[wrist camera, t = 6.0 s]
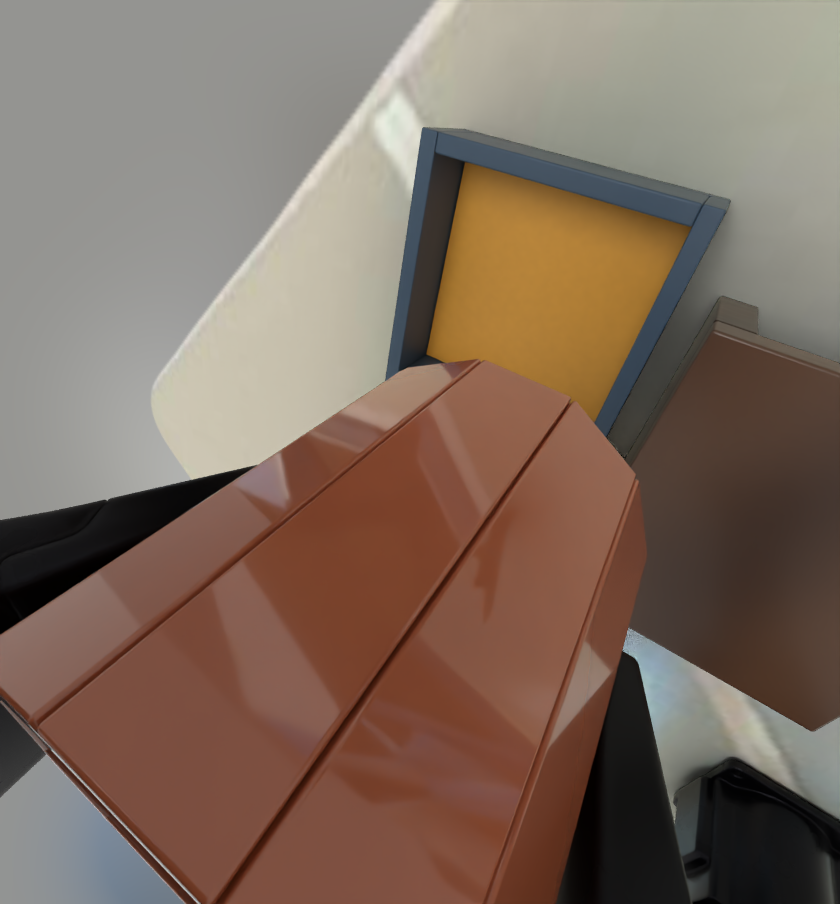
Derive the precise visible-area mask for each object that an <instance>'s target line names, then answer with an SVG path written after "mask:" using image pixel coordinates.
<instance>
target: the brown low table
mask: <svg viewBox="0 0 840 904" xmlns="http://www.w3.org/2000/svg"><path fill="white" fill-rule="evenodd" d="M625 461H626V463H627V464H628V465H629V466H630V467H631V469H632V470H633V471H634V472H635V474H636V478H635V479H638V481H639V485H640V494H641V504H642V513H643V522H644V531H645V541H646V550H647V558H646V562H645V566H644V570H643V573H642V577H641V581H640V585H639V589H638V592H637V596H636V600H635V604H634V608H633V611H632V615H631V619H630V623H629V628H631V629H632V630H634V631H636V632H638V633H639V634H641V635H643V636H645V637H646V638H648V639H650V640H652V641H653V642H655V643H657V644H659V645H660V646H662V647H664V648H666V649H667V650H669V651H671V652H673V653H675V654H676V655H678V656H680V657H682V658H683V659H685V660H687V661H689V662H690V663H692V664H694V665H696V666H697V667H699V668H701V669H703V670H704V671H706V672H708V673H710V674H711V675H713V676H715V677H717V678H718V679H720V680H722V681H724V682H725V683H727V684H729V685H731V686H733V687H734V688H736V689H738V690H740V691H741V692H743V693H745V694H747V695H748V696H750V697H752V698H754V699H755V700H757V701H759V702H761V703H762V704H764V705H766V706H768V707H769V708H771V709H773V710H775V711H776V712H778V713H780V714H782V715H784V716H785V717H787V718H789V719H791V720H792V721H794V722H796V723H798V724H799V725H801V726H803V727H805V728H806V729H808V730H810V731H816V730H818V729H819V728H821V727H823V726H824V725H826V724H828V723H830V722H831V721H833V720H835V719H837V718H838V717H840V363H838V362H835V361H832V360H829V359H826V358H823V357H820V356H817V355H814V354H812V353H809V352H806V351H803V350H800V349H797V348H794V347H791V346H788V345H785V344H783V343H780V342H777V341H774V340H771V339H768V338H765V337H762V336H759V335H758V308H757V307H755V306H752V305H749V304H746V303H743V302H740V301H737V300H733V299H730V298H727V297H724V296H721V297H720V298H719V299H718V301H717V303H716V304H715V306H714V308H713V310H712V311H711V313H710V315H709V316H708V318H707V320H706V322H705V323H704V325H703V327H702V328H701V330H700V332H699V333H698V335H697V337H696V339H695V340H694V342H693V344H692V345H691V347H690V349H689V351H688V352H687V354H686V356H685V357H684V359H683V361H682V363H681V364H680V366H679V368H678V369H677V371H676V373H675V374H674V376H673V378H672V380H671V381H670V383H669V385H668V386H667V388H666V390H665V392H664V393H663V395H662V397H661V398H660V400H659V402H658V404H657V405H656V407H655V409H654V410H653V412H652V414H651V416H650V417H649V419H648V421H647V422H646V424H645V426H644V427H643V429H642V431H641V433H640V434H639V436H638V438H637V439H636V441H635V443H634V445H633V446H632V448H631V450H630V451H629V453H628V455H627V457H626V458H625Z"/></svg>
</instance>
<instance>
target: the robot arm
mask: <svg viewBox="0 0 840 904" xmlns="http://www.w3.org/2000/svg"><path fill="white" fill-rule="evenodd" d="M256 466H257V465H255V466H250V467H246V468H242V469H237V470H233V471H228V472H224V473H220V474H215V475H211V476H207V477H202V478H198V479H193V480H189V481H185V482H180V483H176V484H172V485H167V486H163V487H158V488H154V489H150V490H145V491H141V492H137V493H132V494H128V495H124V496H119V497H115V498H111V499H109V500H108V501H107V500H101V501H97V502H93V503H88V504H84V505H79V506H74V507H69V508H65V509H60V510H55V511H50V512H45V513H39V514H33V515H28V516H22V517H16V518H10V519H4V520H0V634H2V633H3V632H5V631H6V630H8V629H9V628H11V627H12V626H14V625H15V624H17V623H18V622H20V621H21V620H23V619H24V618H26V617H28V616H29V615H31V614H32V613H34V612H35V611H37V610H38V609H40V608H41V607H43V606H44V605H46V604H47V603H49V602H50V601H52V600H53V599H55V598H56V597H58V596H59V595H61V594H62V593H64V592H66V591H67V590H69V589H70V588H72V587H73V586H75V585H76V584H78V583H79V582H81V581H82V580H84V579H85V578H87V577H88V576H90V575H91V574H93V573H94V572H96V571H97V570H99V569H100V568H102V567H104V566H105V565H107V564H108V563H110V562H111V561H113V560H114V559H116V558H117V557H119V556H120V555H122V554H123V553H125V552H126V551H128V550H129V549H131V548H132V547H134V546H135V545H137V544H138V543H140V542H142V541H143V540H145V539H146V538H148V537H149V536H151V535H152V534H154V533H155V532H157V531H158V530H160V529H161V528H163V527H164V526H166V525H167V524H169V523H170V522H172V521H173V520H175V519H177V518H178V517H180V516H181V515H183V514H184V513H186V512H187V511H189V510H190V509H192V508H193V507H195V506H196V505H198V504H199V503H201V502H202V501H204V500H205V499H207V498H208V497H210V496H211V495H213V494H215V493H216V492H218V491H219V490H221V489H222V488H224V487H225V486H227V485H228V484H230V483H231V482H233V481H234V480H236V479H237V478H239V477H240V476H242V475H243V474H245V473H246V472H248V471H249V470H251V469H253V468H254V467H256ZM45 755H46V754H45V753H44V752H43V751H42V750H41V748H40V747H39V746H38V745H37V744H36V743H35V742H34V741H33V740H32V739H31V738H30V737H29V735H28V734H27V733H26V732H25V731H24V730H23V729H22V728H21V727H20V725H19V724H18V723H17V722H16V721H15V720H14V719H13V718H12V717H11V715H10V714H9V713H8V712H7V711H6V710H5V709H4V708H3V707H2V705H1V704H0V797H1V796H2V795H3V794H4V793H5V792H6V791H8V789H10V788H11V787H12V786H13V785H14V784H15V783H16V782H17V781H18V780H19V779H20V778H21V777H22V776H24V775H25V774H26V773H27V772H28V771H29V770H30V769H31V768H32V767H33V766H34V765H35V764H36V763H37V762H38V761H40V760H41V759H42V758H43V757H44V756H45ZM673 803H674V805H675V806H676V807H677V811H676V819H675V825H674V820H673V816H672V811H671V807H670V802H669V798H668V794H667V789H666V785H665V780H664V776H663V771H662V767H661V762H660V758H659V754H658V749H657V745H656V740H655V736H654V731H653V727H652V722H651V718H650V713H649V709H648V705H647V700H646V696H645V691H644V687H643V682H642V678H641V673H640V669H639V665H638V662H637V661H636V659H635V658H633V657H632V656H630V655H628V654H627V653H625V652H623V651H622V653H621V657H620V661H619V665H618V668H617V672H616V676H615V680H614V684H613V687H612V691H611V695H610V699H609V703H608V706H607V710H606V714H605V718H604V722H603V725H602V729H601V733H600V737H599V741H598V744H597V748H596V752H595V756H594V760H593V764H592V767H591V771H590V775H589V779H588V783H587V786H586V790H585V794H584V798H583V802H582V805H581V809H580V813H579V817H578V821H577V824H576V828H575V832H574V836H573V840H572V843H571V847H570V851H569V855H568V859H567V862H566V866H565V870H564V874H563V878H562V881H561V885H560V889H559V893H558V897H557V900H556V904H840V823H839V822H838V821H836V820H834V819H833V818H831V817H829V816H828V815H826V814H824V813H823V812H821V811H820V810H818V809H816V808H815V807H813V806H811V805H810V804H808V803H807V802H805V801H803V800H802V799H800V798H798V797H797V796H795V795H793V794H792V793H790V792H789V791H787V790H785V789H784V788H782V787H780V786H779V785H777V784H776V783H774V782H772V781H771V780H769V779H767V778H766V777H764V776H762V775H761V774H759V773H758V772H756V771H754V770H753V769H751V768H749V767H748V766H746V765H745V764H743V763H741V762H739V761H735V760H729V761H727V762H725V763H723V764H722V765H720V766H718V767H717V768H715V769H714V770H712V771H710V772H709V773H707V774H706V775H704V776H701V777H699V778H697V779H696V780H694V781H692V782H691V783H689V784H688V785H686V786H684V787H683V788H681V789H680V790H679V791H678V792H677V793H675V794H674V799H673Z"/></svg>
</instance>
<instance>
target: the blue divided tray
mask: <svg viewBox="0 0 840 904" xmlns="http://www.w3.org/2000/svg"><path fill="white" fill-rule="evenodd" d="M730 202H731V200H730V199H726V198H722V197H719V196H715V195H711V194H707V193H703V192H700V191H696V190H692V189H688V188H685V187H681V186H677V185H673V184H670V183H666V182H662V181H658V180H654V179H651V178H647V177H643V176H639V175H636V174H632V173H628V172H624V171H621V170H617V169H613V168H609V167H605V166H602V165H598V164H594V163H590V162H587V161H583V160H579V159H575V158H572V157H568V156H564V155H560V154H557V153H553V152H549V151H545V150H541V149H538V148H534V147H530V146H526V145H523V144H519V143H515V142H511V141H508V140H504V139H500V138H496V137H492V136H489V135H485V134H481V133H477V132H474V131H470V130H466V129H453V128H428V127H423V128H422V133H421V140H420V147H419V153H418V160H417V167H416V174H415V181H414V188H413V194H412V201H411V208H410V215H409V222H408V228H407V235H406V242H405V249H404V256H403V263H402V269H401V276H400V283H399V290H398V297H397V303H396V310H395V317H394V324H393V331H392V338H391V344H390V351H389V358H388V365H387V372H386V379H385V381H386V380H388V379H389V378H391V377H392V376H394V375H395V374H397V373H398V372H400V371H402V370H405V369H406V368H409V367H417V366H425V365H433V364H441V363H449V362H457V361H466V360H474V359H480V360H481V362H482V361H484V360H487V361H489V362H491V363H494V364H496V365H498V366H501V367H503V368H505V369H508V370H510V371H512V372H514V373H517V374H519V375H521V376H524V377H526V378H528V379H531V380H533V381H535V382H538V383H540V384H542V385H545V386H547V387H549V388H551V389H554V390H556V391H558V392H561V393H563V394H565V395H568V396H570V397H571V401H570V403H571V402H573V401H576V402H577V403H578V404H579V405H580V406H581V408H582V409H583V410H584V411H585V412H586V414H587V415H588V416H589V417H590V419H591V420H592V421H593V422H594V423H595V425H596V426H597V427H598V428H599V430H600V431H601V432H602V433H603V434H604V436H605V437H607V435H608V433H609V431H610V430H611V428H612V426H613V424H614V422H615V420H616V418H617V416H618V415H619V413H620V411H621V409H622V407H623V405H624V403H625V401H626V399H627V398H628V396H629V394H630V392H631V390H632V388H633V386H634V384H635V383H636V381H637V379H638V377H639V375H640V373H641V371H642V369H643V368H644V366H645V364H646V362H647V360H648V358H649V356H650V354H651V353H652V351H653V349H654V347H655V345H656V343H657V341H658V339H659V337H660V336H661V334H662V332H663V330H664V328H665V326H666V324H667V322H668V321H669V319H670V317H671V315H672V313H673V311H674V309H675V307H676V306H677V304H678V302H679V300H680V298H681V296H682V294H683V292H684V291H685V289H686V287H687V285H688V283H689V281H690V279H691V277H692V275H693V274H694V272H695V270H696V268H697V266H698V264H699V262H700V260H701V259H702V257H703V255H704V253H705V251H706V249H707V247H708V245H709V244H710V242H711V240H712V238H713V236H714V234H715V232H716V230H717V229H718V227H719V225H720V223H721V221H722V219H723V217H724V215H725V213H726V211H727V209H728V207H729V205H730ZM570 403H569V404H570Z"/></svg>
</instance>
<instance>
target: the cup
mask: <svg viewBox="0 0 840 904" xmlns="http://www.w3.org/2000/svg"><path fill="white" fill-rule="evenodd" d="M570 401H571V397H570V396H568V395H565V394H563V393H561V392H558V391H556V390H554V389H551V388H549V387H547V386H545V385H542V384H540V383H538V382H535V381H533V380H531V379H528V378H526V377H524V376H521V375H519V374H517V373H514V372H512V371H510V370H508V369H505V368H503V367H501V366H498V365H496V364H494V363H491V362H489V361H487V360H484V361H482V362H481V360H480V359H474V360H466V361H457V362H449V363H441V364H433V365H425V366H417V367H409V368H406V369H405V370H402V371H400V372H398V373H397V374H395V375H394V376H392V377H391V378H389V379H388V380H386V381H385V382H383V383H382V384H380V385H379V386H377V387H376V388H374V389H373V390H371V391H370V392H368V393H367V394H365V395H364V396H362V397H360V398H359V399H357V400H356V401H354V402H353V403H351V404H350V405H348V406H347V407H345V408H344V409H342V410H341V411H339V412H338V413H336V414H335V415H333V416H332V417H330V418H329V419H327V420H326V421H324V422H322V423H321V424H319V425H318V426H316V427H315V428H313V429H312V430H310V431H309V432H307V433H306V434H304V435H303V436H301V437H300V438H298V439H297V440H295V441H294V442H292V443H291V444H289V445H287V446H286V447H284V448H283V449H281V450H280V451H278V452H277V453H275V454H274V455H272V456H271V457H269V458H268V459H266V460H265V461H263V462H262V463H260V464H259V465H257V466H256V467H254V468H253V469H251V470H249V471H248V472H246V473H245V474H243V475H242V476H240V477H239V478H237V479H236V480H234V481H233V482H231V483H230V484H228V485H227V486H225V487H224V488H222V489H221V490H219V491H218V492H216V493H215V494H213V495H211V496H210V497H208V498H207V499H205V500H204V501H202V502H201V503H199V504H198V505H196V506H195V507H193V508H192V509H190V510H189V511H187V512H186V513H184V514H183V515H181V516H180V517H178V518H177V519H175V520H173V521H172V522H170V523H169V524H167V525H166V526H164V527H163V528H161V529H160V530H158V531H157V532H155V533H154V534H152V535H151V536H149V537H148V538H146V539H145V540H143V541H142V542H140V543H138V544H137V545H135V546H134V547H132V548H131V549H129V550H128V551H126V552H125V553H123V554H122V555H120V556H119V557H117V558H116V559H114V560H113V561H111V562H110V563H108V564H107V565H105V566H104V567H102V568H100V569H99V570H97V571H96V572H94V573H93V574H91V575H90V576H88V577H87V578H85V579H84V580H82V581H81V582H79V583H78V584H76V585H75V586H73V587H72V588H70V589H69V590H67V591H66V592H64V593H62V594H61V595H59V596H58V597H56V598H55V599H53V600H52V601H50V602H49V603H47V604H46V605H44V606H43V607H41V608H40V609H38V610H37V611H35V612H34V613H32V614H31V615H29V616H28V617H26V618H24V619H23V620H21V621H20V622H18V623H17V624H15V625H14V626H12V627H11V628H9V629H8V630H6V631H5V632H3V633H2V634H0V704H1V705H2V707H3V708H4V709H5V710H6V711H7V712H8V713H9V714H10V715H11V717H12V718H13V719H14V720H15V721H16V722H17V723H18V724H19V725H20V727H21V728H22V729H23V730H24V731H25V732H26V733H27V734H28V735H29V737H30V738H31V739H32V740H33V741H34V742H35V743H36V744H37V745H38V746H39V747H40V748H41V750H42V751H43V752H44V753H45V754H46V755H47V756H48V757H49V758H50V759H51V760H52V761H53V763H54V764H55V765H56V766H57V767H58V768H59V769H60V770H61V771H62V772H63V773H64V774H65V776H66V777H67V778H68V779H69V780H70V781H71V782H72V783H73V784H74V785H75V786H76V787H77V788H78V790H79V791H80V792H81V793H82V794H83V795H84V796H85V797H86V798H87V799H88V801H89V802H90V803H91V804H92V805H93V806H94V807H95V808H96V809H97V810H98V811H99V812H100V813H101V814H102V816H103V817H104V818H105V819H106V820H107V821H108V822H109V823H110V824H111V825H112V826H113V827H114V828H115V830H117V832H118V833H119V834H120V835H121V836H122V837H123V838H124V839H125V840H126V841H127V842H128V843H129V844H130V846H131V847H132V848H133V849H134V850H135V851H136V852H137V853H138V854H139V855H140V856H141V857H142V858H143V860H144V861H145V862H146V863H147V864H148V865H149V866H150V867H151V868H152V869H153V870H154V871H155V872H156V873H157V875H158V876H160V878H161V879H162V880H163V881H164V882H165V883H166V884H167V885H168V886H169V887H170V888H171V890H172V891H173V892H175V893H176V895H177V896H178V897H179V898H180V899H181V900H182V901H183V902H184V903H185V904H556V900H557V897H558V893H559V889H560V885H561V881H562V878H563V874H564V870H565V866H566V862H567V859H568V855H569V851H570V847H571V843H572V840H573V836H574V832H575V828H576V824H577V821H578V817H579V813H580V809H581V805H582V802H583V798H584V794H585V790H586V786H587V783H588V779H589V775H590V771H591V767H592V764H593V760H594V756H595V752H596V748H597V744H598V741H599V737H600V733H601V729H602V725H603V722H604V718H605V714H606V710H607V706H608V703H609V699H610V695H611V691H612V687H613V684H614V680H615V676H616V672H617V668H618V665H619V661H620V657H621V653H622V649H623V646H624V642H625V638H626V634H627V630H628V627H629V623H630V619H631V615H632V611H633V608H634V604H635V600H636V596H637V592H638V589H639V585H640V581H641V577H642V573H643V570H644V566H645V562H646V558H647V550H646V541H645V531H644V522H643V513H642V504H641V494H640V485H639V481H638V479H635V478H636V474H635V472H634V471H633V470H632V469H631V467H630V466H629V465H628V464H627V463H626V461H625V460H624V459H623V458H622V456H621V455H620V454H619V453H618V452H617V450H616V449H615V448H614V447H613V445H612V444H611V443H610V442H609V441H608V439H607V438H606V437H605V436H604V434H603V433H602V432H601V431H600V430H599V428H598V427H597V426H596V425H595V423H594V422H593V421H592V420H591V419H590V417H589V416H588V415H587V414H586V412H585V411H584V410H583V409H582V408H581V406H580V405H579V404H578V403H577V402H576V401H573V402H571V403H570ZM569 403H570V404H569Z"/></svg>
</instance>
